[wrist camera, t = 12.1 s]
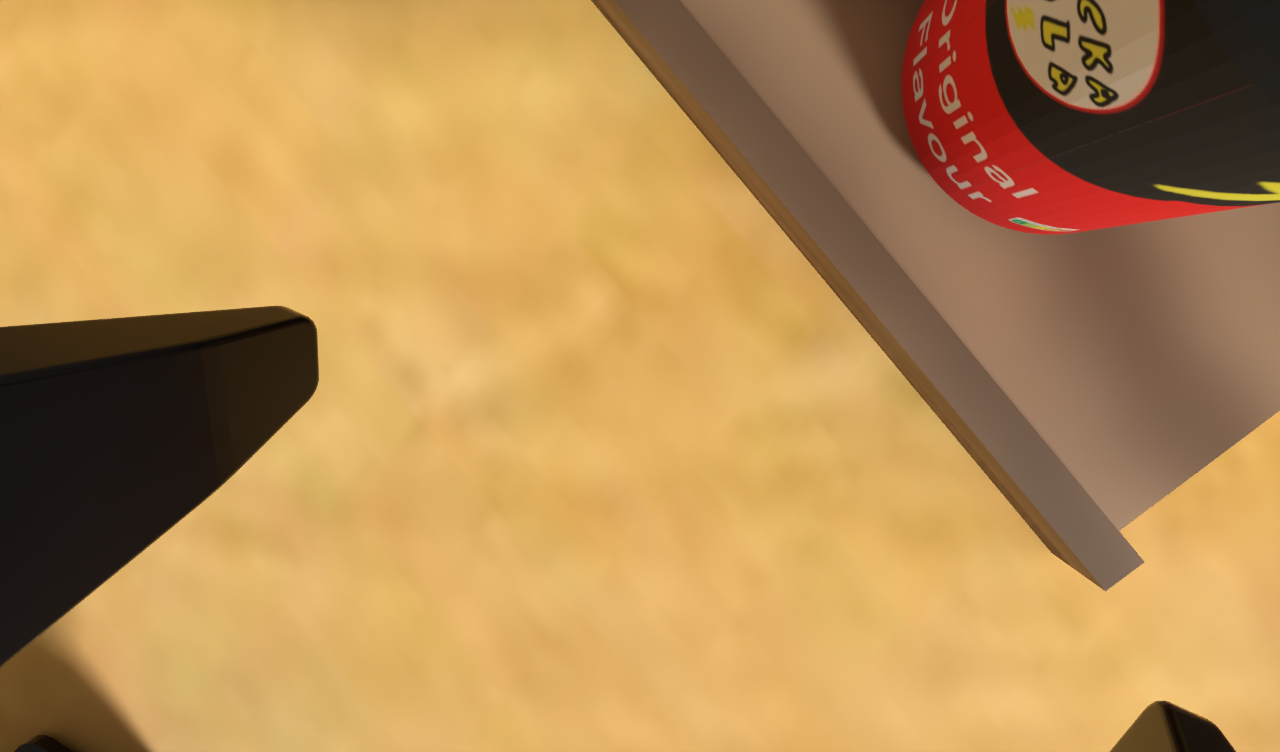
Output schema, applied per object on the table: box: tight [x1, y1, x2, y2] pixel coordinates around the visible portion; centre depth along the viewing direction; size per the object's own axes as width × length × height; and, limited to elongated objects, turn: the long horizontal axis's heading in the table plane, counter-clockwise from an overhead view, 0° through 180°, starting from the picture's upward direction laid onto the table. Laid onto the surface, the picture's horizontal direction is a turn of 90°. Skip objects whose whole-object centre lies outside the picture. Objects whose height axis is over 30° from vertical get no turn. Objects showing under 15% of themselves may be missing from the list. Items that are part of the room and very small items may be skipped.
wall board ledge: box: [591, 0, 1280, 591], centre depth 12 cm, size 10×18×12 cm, turn 41°
